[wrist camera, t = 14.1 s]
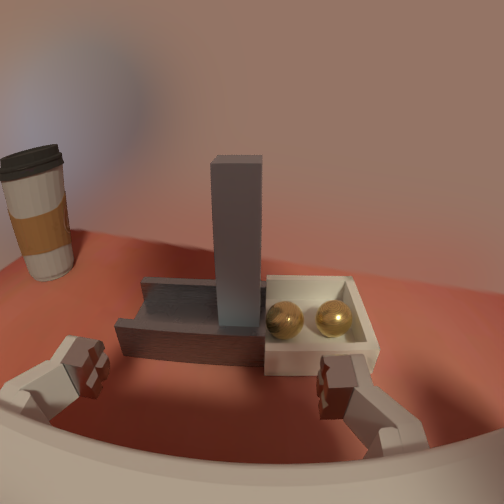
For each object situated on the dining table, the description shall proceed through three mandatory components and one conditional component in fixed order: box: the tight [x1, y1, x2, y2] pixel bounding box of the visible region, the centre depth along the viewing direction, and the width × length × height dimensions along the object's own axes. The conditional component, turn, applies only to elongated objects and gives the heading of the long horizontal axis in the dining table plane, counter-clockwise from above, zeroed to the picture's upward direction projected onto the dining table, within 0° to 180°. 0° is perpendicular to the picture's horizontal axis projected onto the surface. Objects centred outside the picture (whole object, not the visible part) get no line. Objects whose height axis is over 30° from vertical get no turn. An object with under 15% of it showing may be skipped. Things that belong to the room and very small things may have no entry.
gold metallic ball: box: [315, 300, 353, 338], centre depth 25 cm, size 3×3×3 cm
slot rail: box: [114, 277, 267, 367], centre depth 26 cm, size 11×7×3 cm, turn 87°
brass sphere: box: [265, 301, 304, 340], centre depth 25 cm, size 3×3×3 cm
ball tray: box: [264, 275, 380, 376], centre depth 26 cm, size 8×10×2 cm
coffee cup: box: [0, 144, 74, 281], centre depth 32 cm, size 8×8×15 cm
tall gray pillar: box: [210, 155, 262, 327], centre depth 23 cm, size 3×4×13 cm
